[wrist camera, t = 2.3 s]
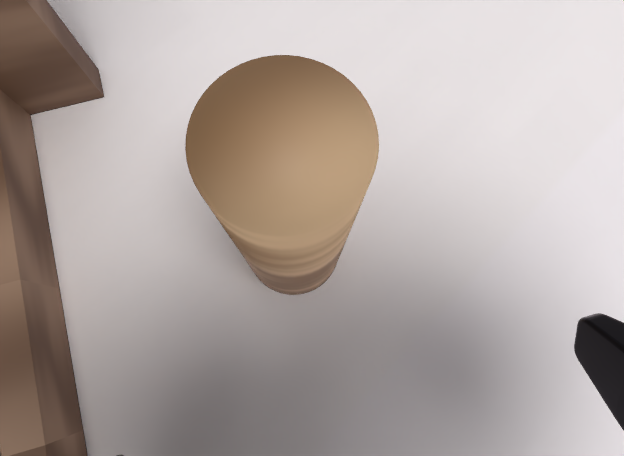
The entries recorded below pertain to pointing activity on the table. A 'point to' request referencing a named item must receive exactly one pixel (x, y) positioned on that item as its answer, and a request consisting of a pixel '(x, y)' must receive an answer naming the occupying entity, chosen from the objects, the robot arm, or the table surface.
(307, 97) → the peg
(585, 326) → the robot arm
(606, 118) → the table surface
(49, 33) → the socket stand
